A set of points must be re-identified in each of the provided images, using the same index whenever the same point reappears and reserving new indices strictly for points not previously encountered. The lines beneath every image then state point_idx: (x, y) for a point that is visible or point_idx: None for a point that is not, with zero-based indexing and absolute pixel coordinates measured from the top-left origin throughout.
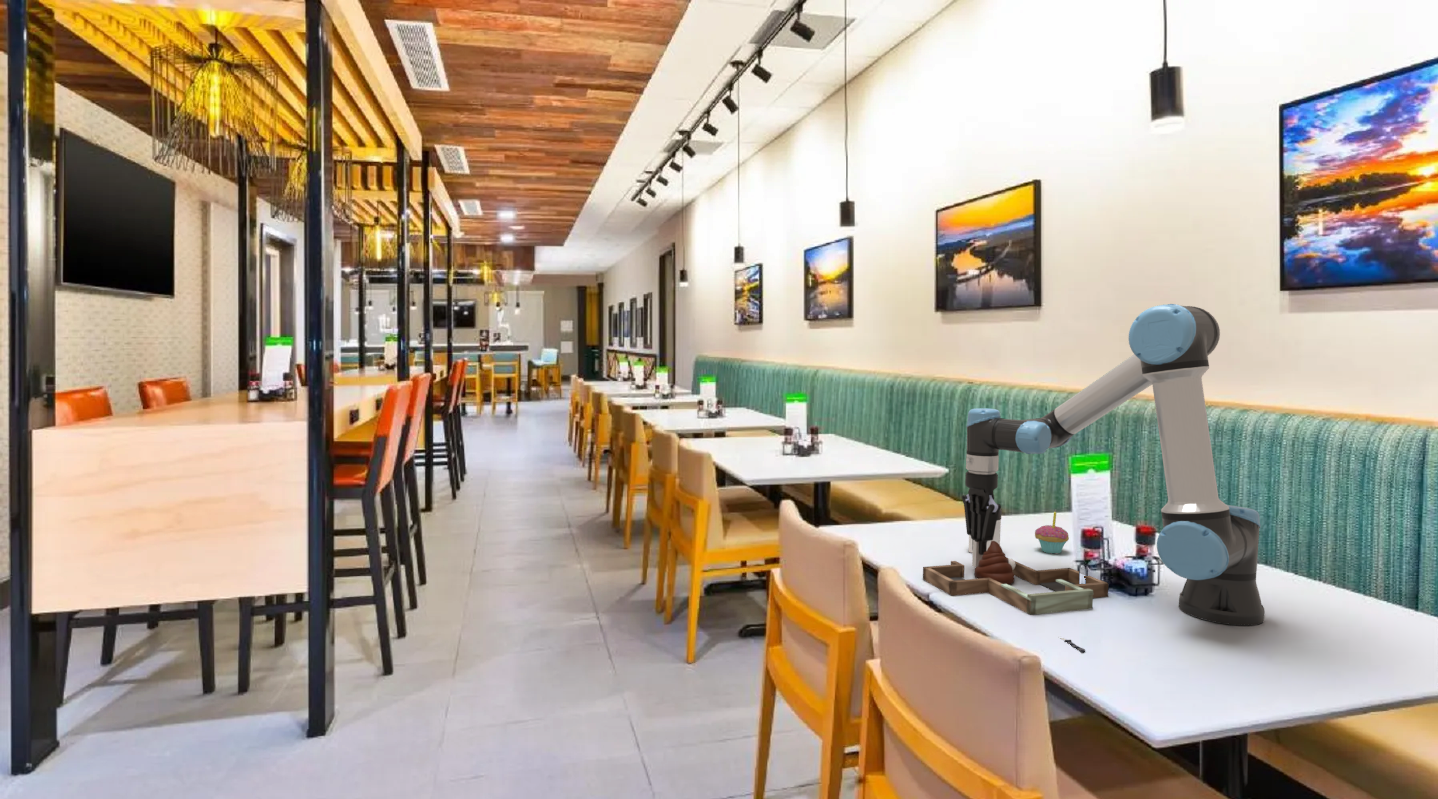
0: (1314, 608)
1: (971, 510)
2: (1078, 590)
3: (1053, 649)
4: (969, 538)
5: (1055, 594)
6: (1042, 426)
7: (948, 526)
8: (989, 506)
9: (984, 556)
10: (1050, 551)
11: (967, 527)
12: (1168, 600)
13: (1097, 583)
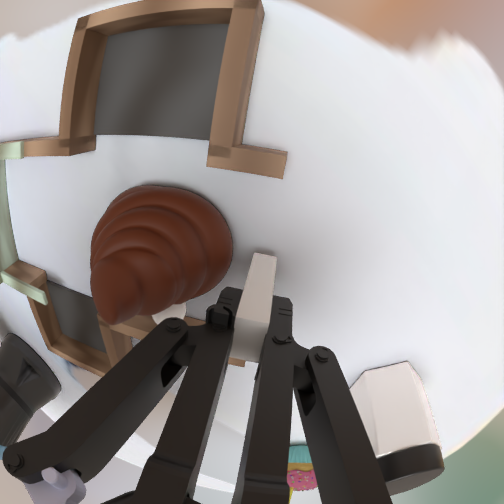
0: (62, 414)
1: (265, 489)
2: None
3: None
4: (415, 390)
5: None
6: None
7: (491, 404)
8: (18, 465)
9: (130, 234)
10: (290, 449)
11: (332, 378)
12: (58, 371)
13: (44, 337)
